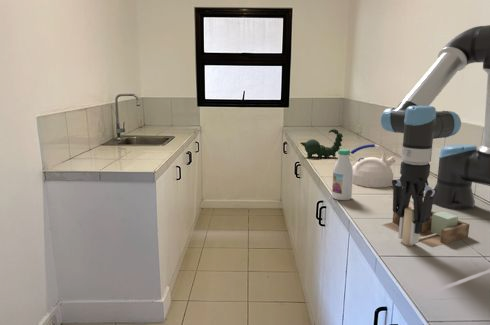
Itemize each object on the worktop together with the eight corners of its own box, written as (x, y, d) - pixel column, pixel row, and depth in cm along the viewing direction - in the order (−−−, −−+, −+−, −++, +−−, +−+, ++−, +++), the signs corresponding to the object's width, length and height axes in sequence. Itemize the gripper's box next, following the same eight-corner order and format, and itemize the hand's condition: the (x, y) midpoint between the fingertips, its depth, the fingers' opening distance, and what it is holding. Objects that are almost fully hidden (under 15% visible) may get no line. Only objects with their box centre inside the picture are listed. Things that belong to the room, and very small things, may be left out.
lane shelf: (415, 218, 131) (416, 205, 130) (467, 238, 115) (469, 224, 114) (381, 226, 124) (382, 213, 123) (432, 249, 108) (433, 234, 107)
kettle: (398, 189, 167) (401, 148, 163) (349, 186, 171) (352, 147, 167) (390, 177, 186) (393, 141, 182) (347, 175, 190) (349, 140, 186)
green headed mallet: (441, 231, 120) (444, 198, 118) (455, 236, 116) (459, 202, 114) (396, 242, 112) (399, 207, 110) (410, 249, 108) (414, 213, 105)
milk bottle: (348, 194, 158) (350, 148, 154) (353, 200, 151) (356, 151, 147) (329, 195, 158) (332, 148, 154) (334, 201, 151) (337, 151, 146)
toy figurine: (338, 158, 238) (298, 154, 240) (342, 129, 233) (302, 125, 236) (339, 162, 229) (298, 157, 231) (344, 131, 224) (302, 126, 227)
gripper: (383, 157, 111) (377, 232, 116) (432, 169, 96) (423, 254, 101) (401, 155, 114) (395, 228, 119) (451, 166, 100) (442, 248, 105)
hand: (408, 240), depth 110 cm, fingers closed on green headed mallet, 3 cm apart
